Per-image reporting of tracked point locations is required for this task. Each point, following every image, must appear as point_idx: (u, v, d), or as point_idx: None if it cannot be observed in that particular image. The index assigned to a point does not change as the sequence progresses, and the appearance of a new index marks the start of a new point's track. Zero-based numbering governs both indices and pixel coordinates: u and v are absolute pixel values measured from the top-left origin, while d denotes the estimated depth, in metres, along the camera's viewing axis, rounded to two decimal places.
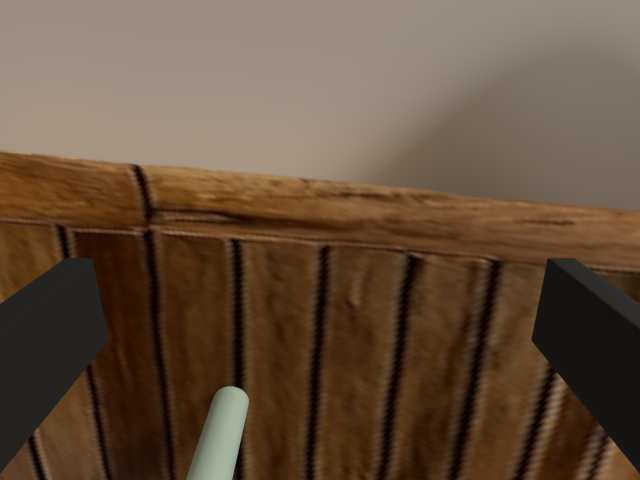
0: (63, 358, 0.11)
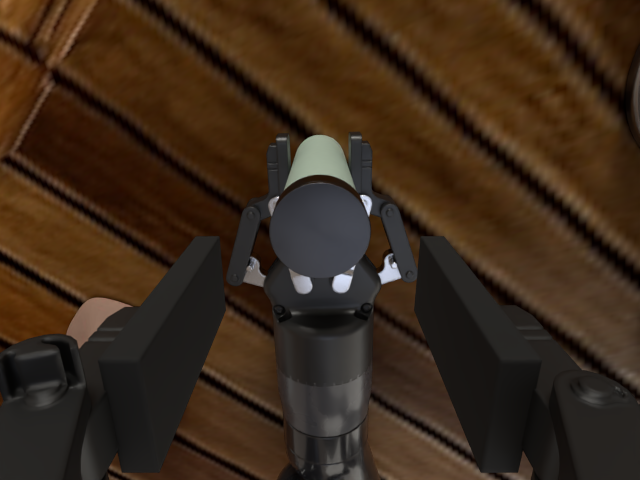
0: (208, 320, 0.12)
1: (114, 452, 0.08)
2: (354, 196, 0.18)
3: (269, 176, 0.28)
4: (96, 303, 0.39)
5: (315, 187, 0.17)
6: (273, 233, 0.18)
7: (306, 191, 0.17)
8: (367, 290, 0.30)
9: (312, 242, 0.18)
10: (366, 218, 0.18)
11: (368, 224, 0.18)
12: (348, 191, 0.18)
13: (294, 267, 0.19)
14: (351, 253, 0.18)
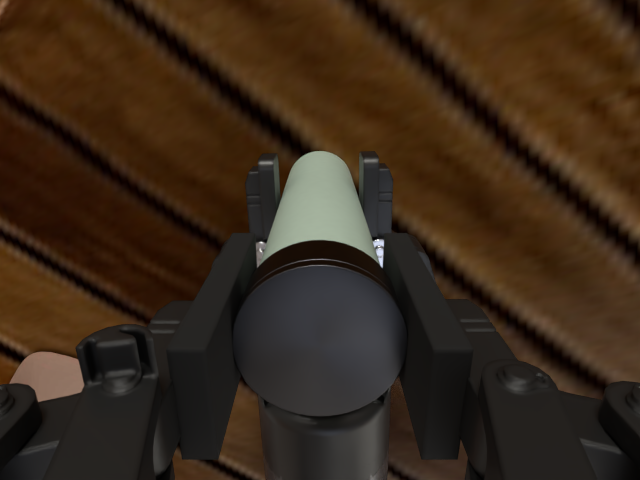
0: None
1: (178, 440, 0.09)
2: (381, 287, 0.10)
3: (250, 213, 0.20)
4: (40, 359, 0.31)
5: (311, 273, 0.10)
6: (238, 347, 0.10)
7: (295, 279, 0.10)
8: None
9: (306, 361, 0.11)
10: (401, 323, 0.10)
11: (405, 333, 0.10)
12: (370, 279, 0.10)
13: (276, 399, 0.11)
14: (374, 378, 0.11)
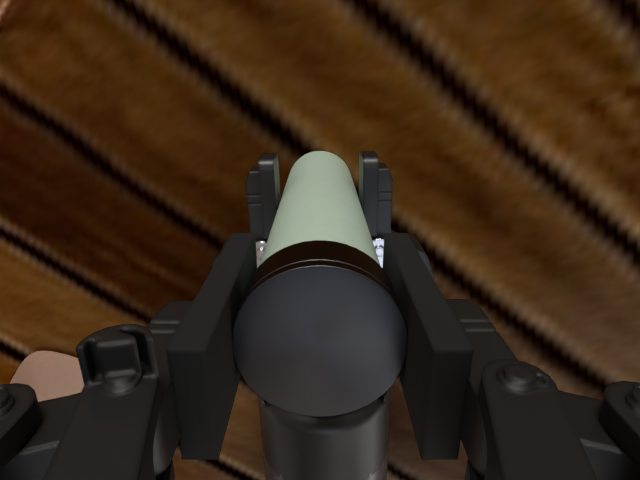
0: None
1: (178, 439, 0.09)
2: (262, 284, 0.10)
3: (250, 213, 0.20)
4: (41, 358, 0.31)
5: (238, 342, 0.10)
6: (308, 411, 0.11)
7: (243, 355, 0.10)
8: None
9: (335, 360, 0.11)
10: (305, 271, 0.10)
11: (318, 269, 0.10)
12: (252, 292, 0.10)
13: (375, 392, 0.11)
14: (369, 303, 0.10)
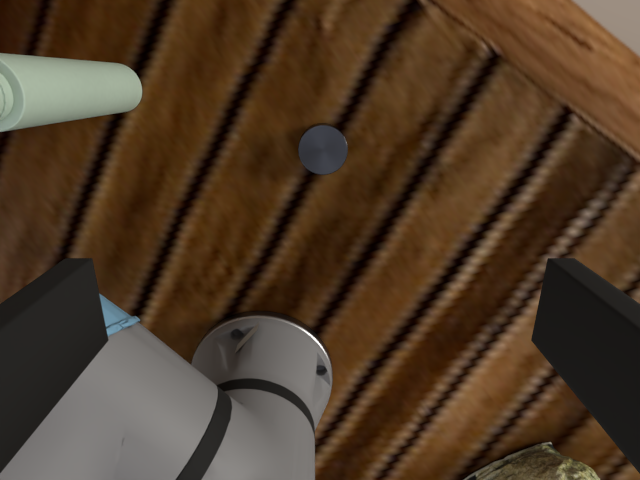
0: (63, 358, 0.11)
1: None
2: (322, 125, 0.37)
3: None
4: None
5: (305, 135, 0.37)
6: (306, 166, 0.38)
7: (304, 139, 0.37)
8: None
9: (323, 156, 0.38)
10: (334, 129, 0.37)
11: (337, 130, 0.37)
12: (318, 125, 0.37)
13: (326, 172, 0.38)
14: (341, 147, 0.37)
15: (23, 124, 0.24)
